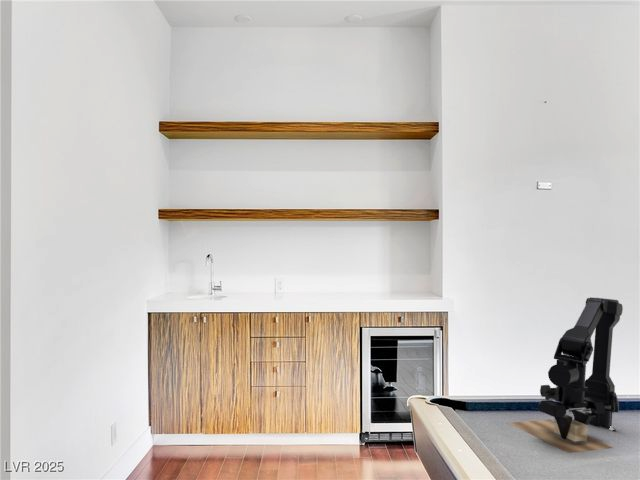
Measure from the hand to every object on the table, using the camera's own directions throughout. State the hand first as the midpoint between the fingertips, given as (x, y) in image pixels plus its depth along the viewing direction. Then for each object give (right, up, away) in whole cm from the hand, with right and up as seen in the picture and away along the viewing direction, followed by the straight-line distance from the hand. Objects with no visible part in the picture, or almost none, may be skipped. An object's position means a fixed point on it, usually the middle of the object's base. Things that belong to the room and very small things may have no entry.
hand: (570, 438), depth 139 cm
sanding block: (0, -1, 0) cm, 1 cm away
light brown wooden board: (-2, -2, +4) cm, 4 cm away
